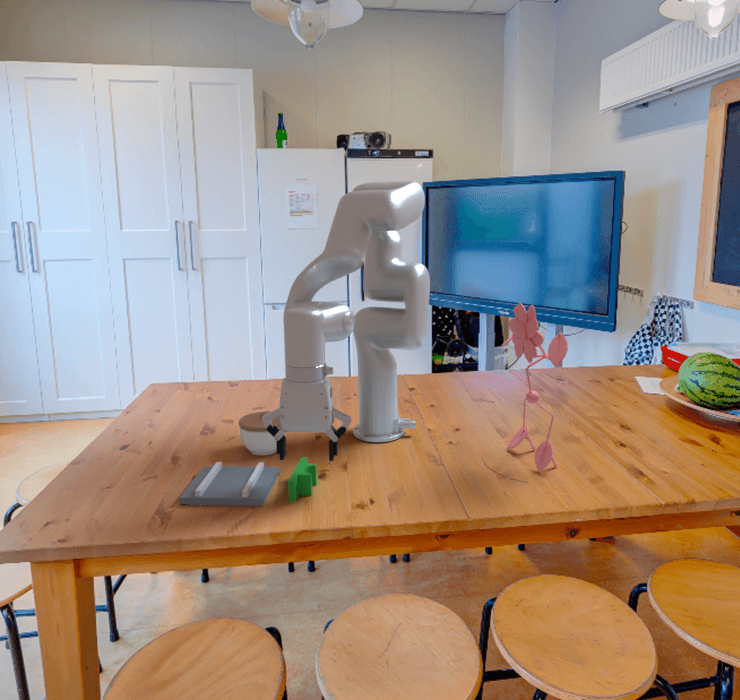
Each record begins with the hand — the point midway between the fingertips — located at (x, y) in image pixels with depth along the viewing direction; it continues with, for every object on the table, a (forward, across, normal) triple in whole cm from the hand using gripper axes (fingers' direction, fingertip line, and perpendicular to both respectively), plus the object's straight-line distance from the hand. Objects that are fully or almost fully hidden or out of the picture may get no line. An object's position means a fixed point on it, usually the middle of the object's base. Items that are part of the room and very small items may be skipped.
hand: (307, 458), depth 111 cm
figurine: (+6, -43, -15) cm, 46 cm away
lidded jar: (+7, +14, -20) cm, 25 cm away
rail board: (+7, +16, -1) cm, 17 cm away
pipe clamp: (+7, +1, -1) cm, 8 cm away
